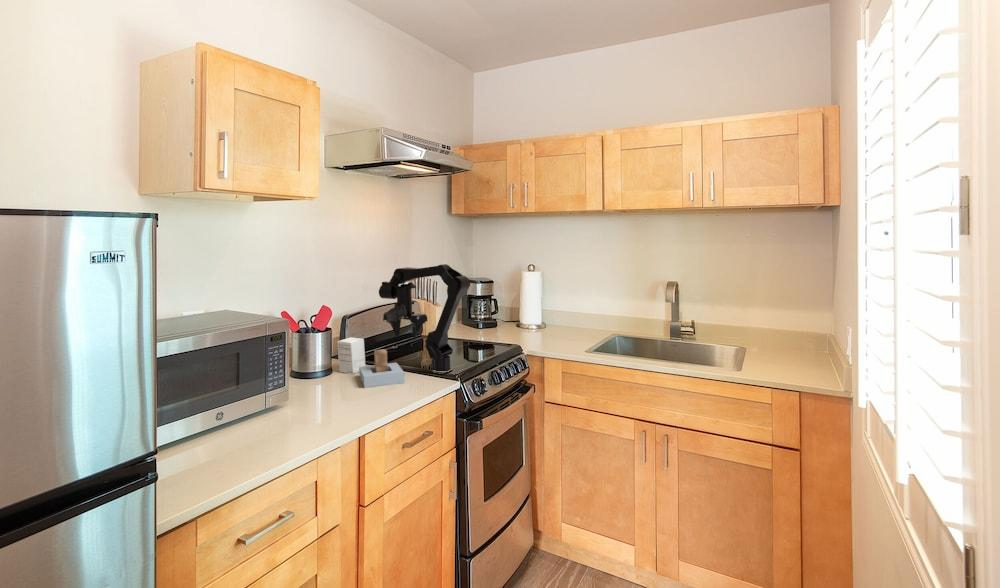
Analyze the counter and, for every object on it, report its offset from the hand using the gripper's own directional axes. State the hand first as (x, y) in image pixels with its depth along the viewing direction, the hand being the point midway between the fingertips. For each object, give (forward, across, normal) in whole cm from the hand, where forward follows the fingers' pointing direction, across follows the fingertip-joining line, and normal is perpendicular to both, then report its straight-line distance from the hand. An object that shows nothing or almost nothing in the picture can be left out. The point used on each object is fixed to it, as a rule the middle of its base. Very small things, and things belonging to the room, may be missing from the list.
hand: (406, 338), depth 191 cm
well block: (+12, +3, -17) cm, 21 cm away
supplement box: (+12, -16, -14) cm, 25 cm away
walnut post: (+11, +3, -17) cm, 20 cm away
